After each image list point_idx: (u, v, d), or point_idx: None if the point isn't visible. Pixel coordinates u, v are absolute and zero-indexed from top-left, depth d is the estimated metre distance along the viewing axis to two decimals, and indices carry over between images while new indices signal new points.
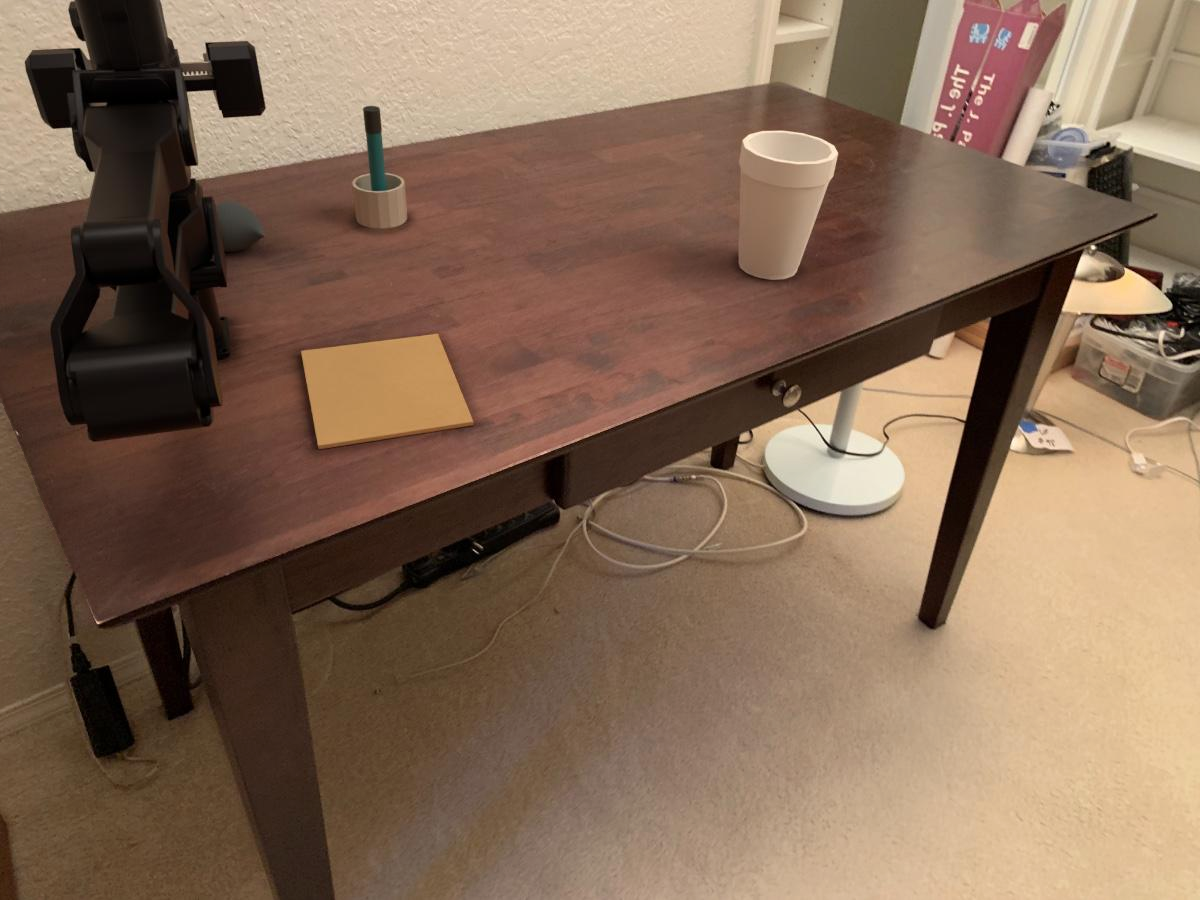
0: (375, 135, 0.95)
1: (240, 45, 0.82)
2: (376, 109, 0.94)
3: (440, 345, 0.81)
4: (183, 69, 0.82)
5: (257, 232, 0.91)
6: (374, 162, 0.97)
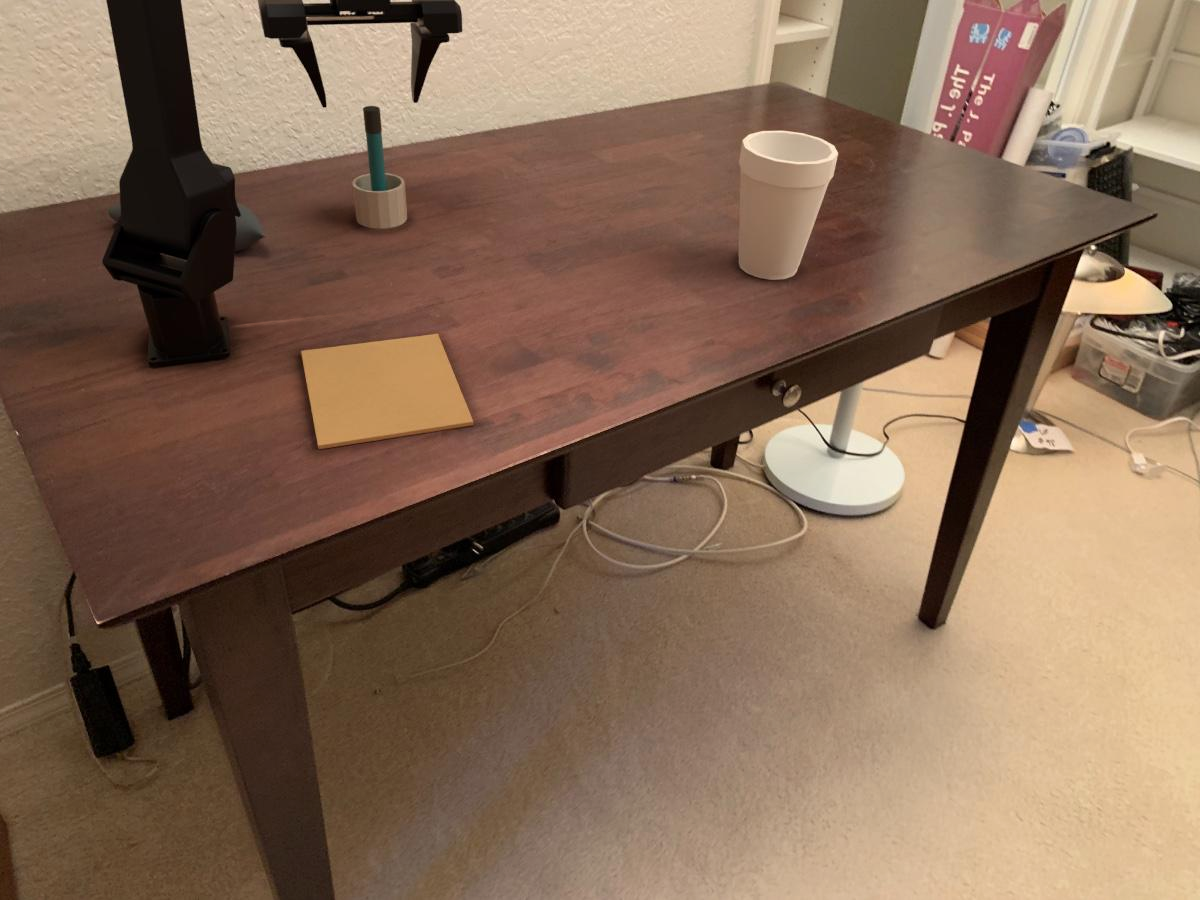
0: (375, 135, 0.95)
1: None
2: (376, 109, 0.94)
3: (440, 345, 0.81)
4: None
5: (257, 232, 0.91)
6: (374, 162, 0.97)
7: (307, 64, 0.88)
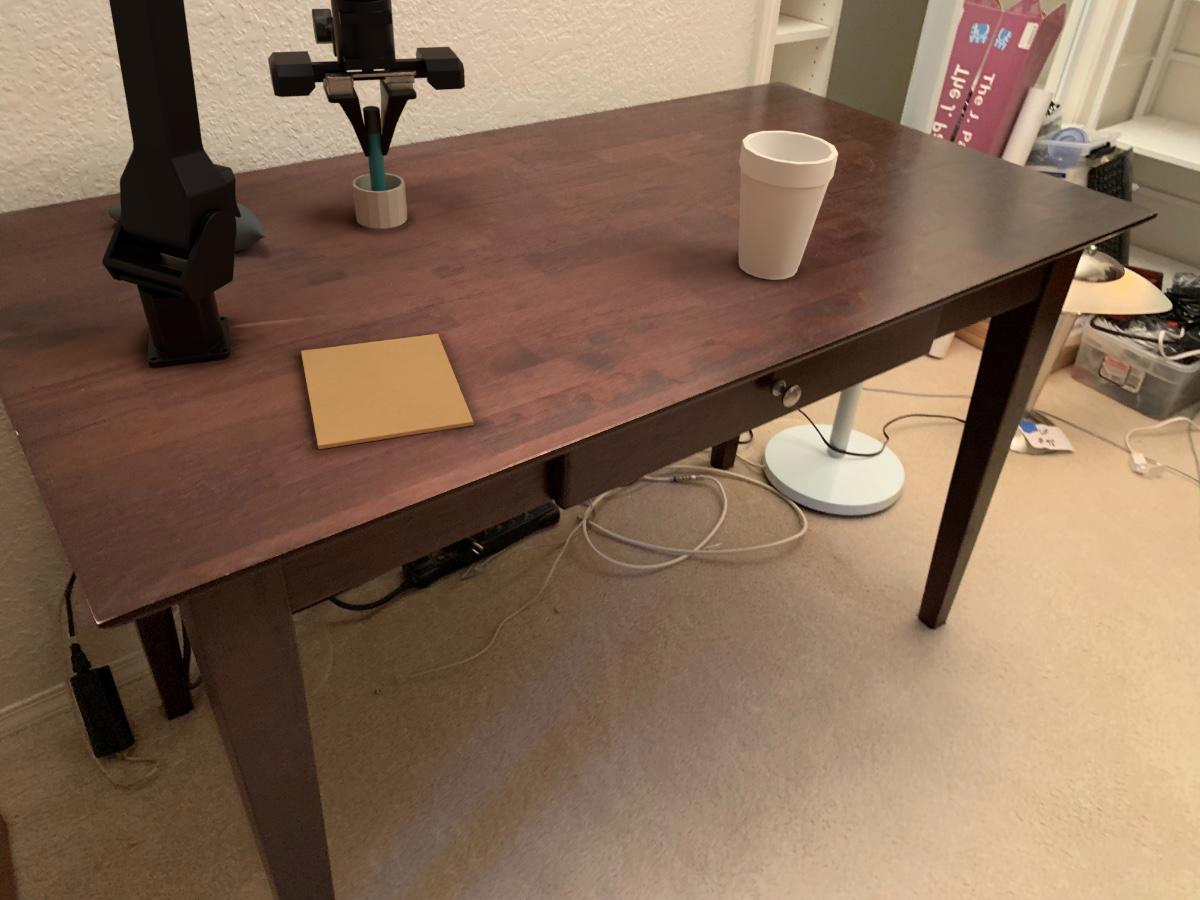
0: (374, 135, 0.95)
1: None
2: (376, 109, 0.94)
3: (440, 345, 0.81)
4: None
5: (257, 232, 0.91)
6: (374, 162, 0.97)
7: (352, 118, 0.92)
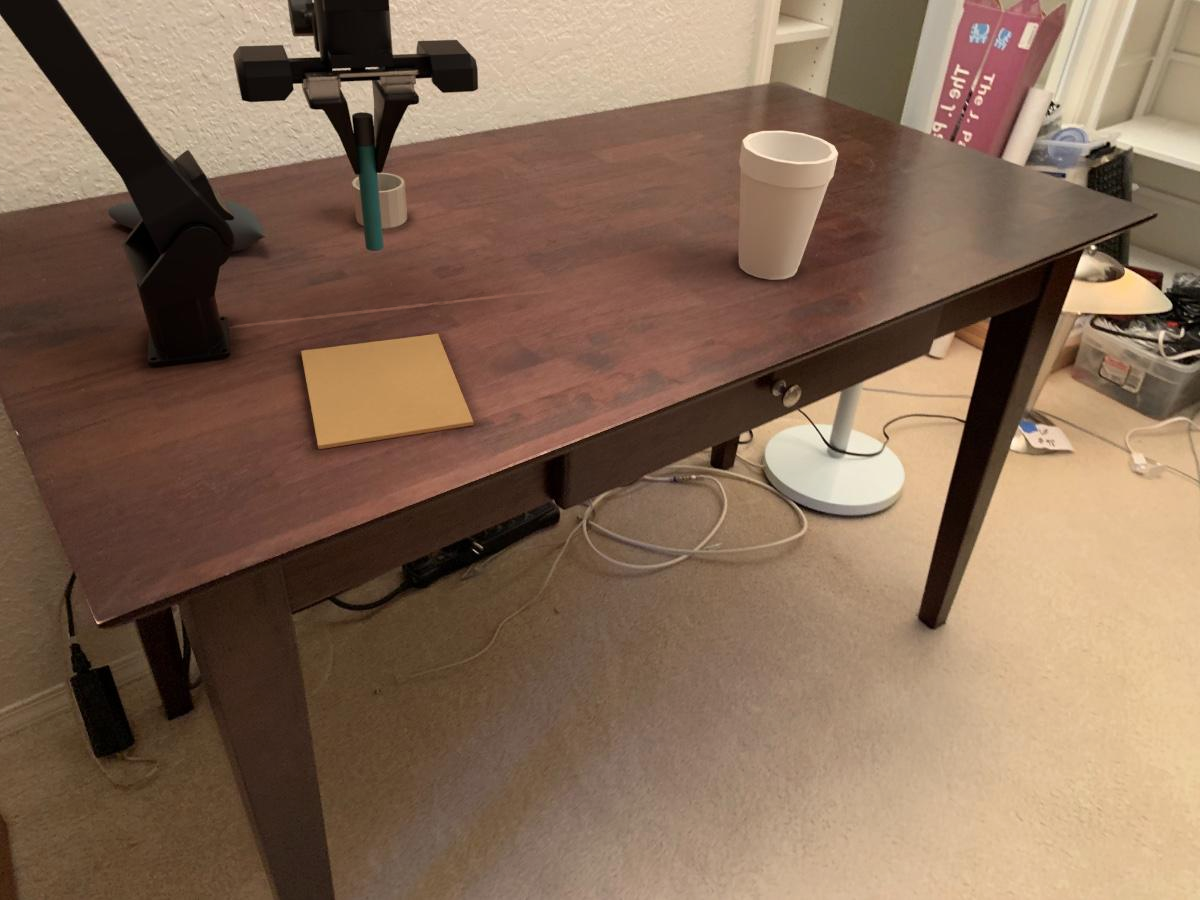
0: (367, 149, 0.78)
1: None
2: (368, 116, 0.77)
3: (440, 345, 0.81)
4: None
5: (257, 232, 0.91)
6: (366, 181, 0.79)
7: (340, 127, 0.75)
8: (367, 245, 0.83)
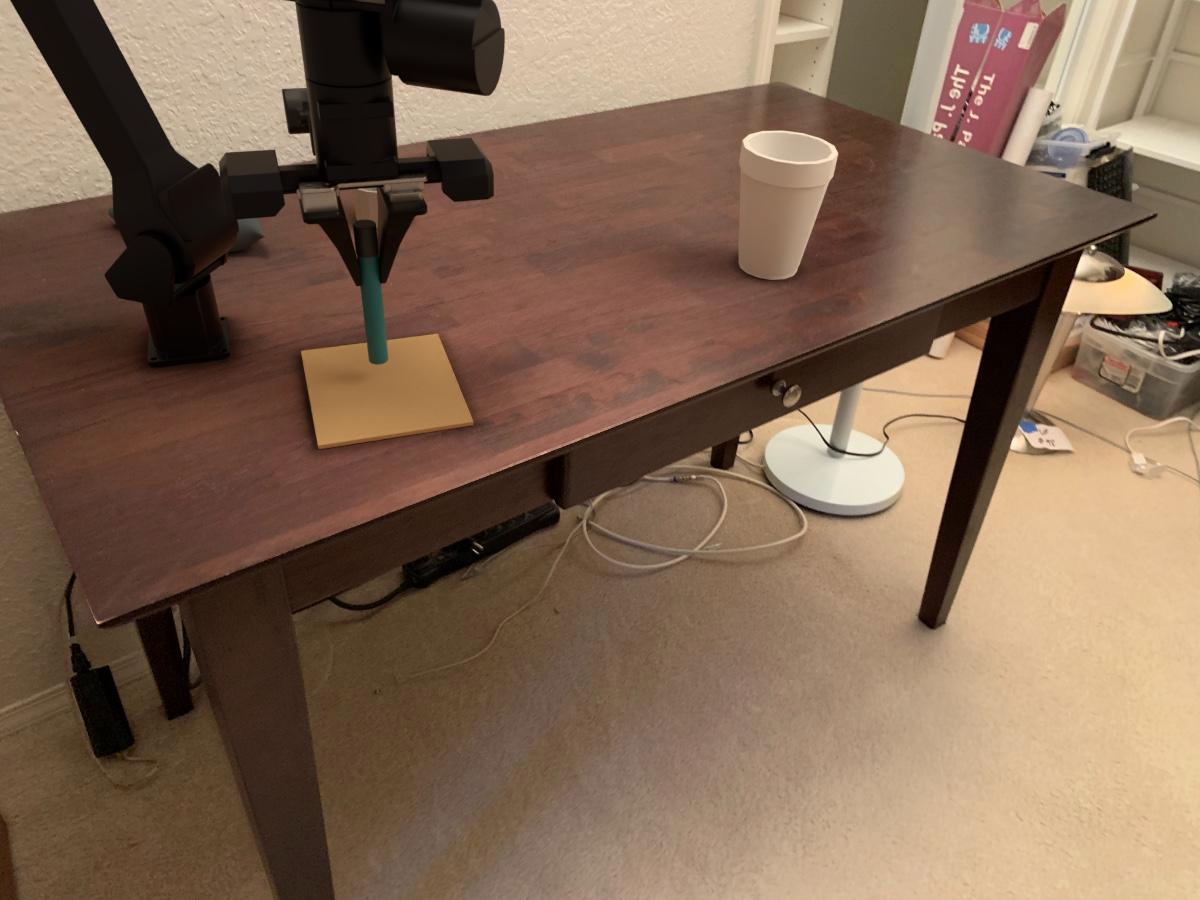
0: (369, 260, 0.69)
1: None
2: (371, 225, 0.68)
3: (440, 345, 0.81)
4: None
5: (257, 232, 0.91)
6: (368, 293, 0.71)
7: (338, 241, 0.66)
8: (370, 358, 0.75)
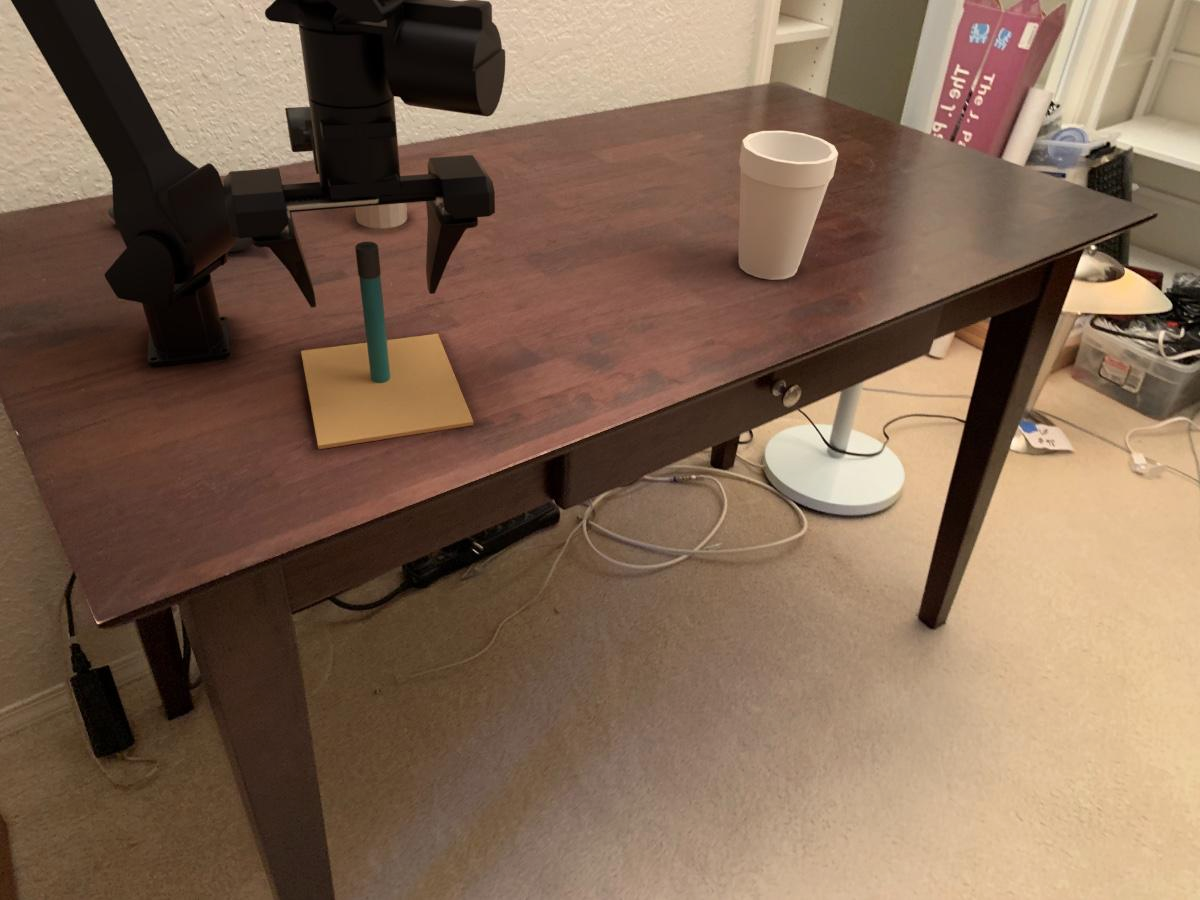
0: (371, 281, 0.71)
1: None
2: (373, 247, 0.69)
3: (440, 345, 0.81)
4: None
5: None
6: (370, 313, 0.72)
7: (289, 263, 0.66)
8: (372, 377, 0.76)
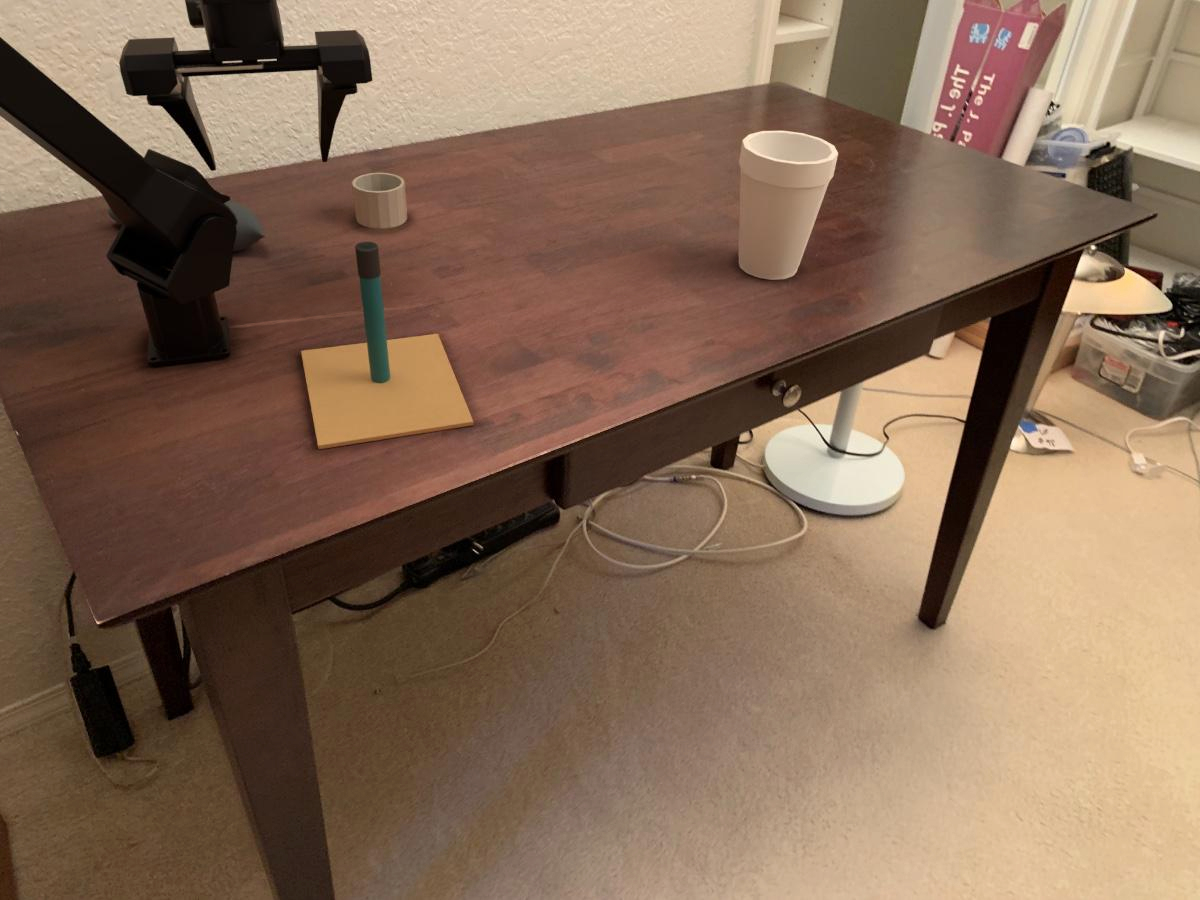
0: (371, 281, 0.71)
1: None
2: (373, 247, 0.69)
3: (440, 345, 0.81)
4: None
5: (256, 232, 0.91)
6: (370, 313, 0.72)
7: (183, 123, 0.73)
8: (372, 377, 0.76)
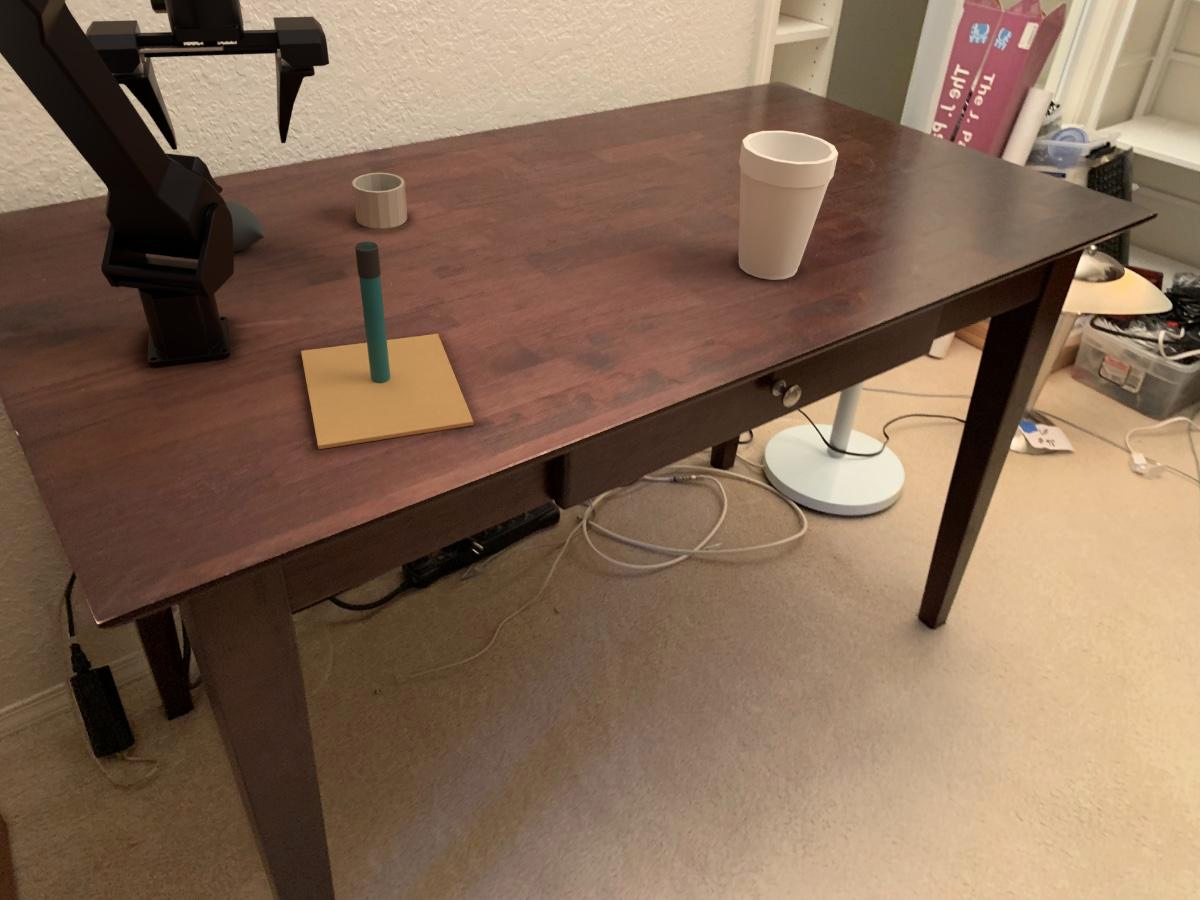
0: (371, 281, 0.71)
1: None
2: (373, 247, 0.69)
3: (440, 345, 0.81)
4: None
5: (256, 233, 0.91)
6: (370, 313, 0.72)
7: (146, 102, 0.76)
8: (372, 377, 0.76)
